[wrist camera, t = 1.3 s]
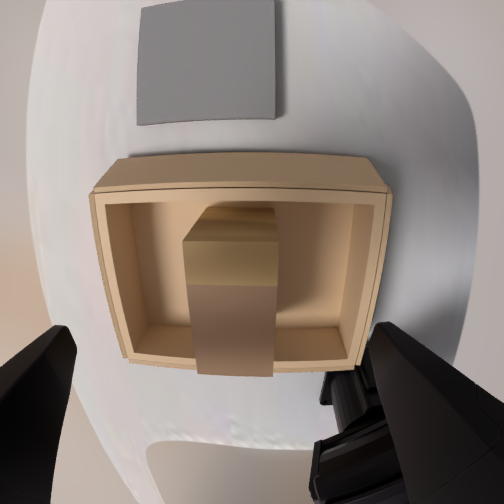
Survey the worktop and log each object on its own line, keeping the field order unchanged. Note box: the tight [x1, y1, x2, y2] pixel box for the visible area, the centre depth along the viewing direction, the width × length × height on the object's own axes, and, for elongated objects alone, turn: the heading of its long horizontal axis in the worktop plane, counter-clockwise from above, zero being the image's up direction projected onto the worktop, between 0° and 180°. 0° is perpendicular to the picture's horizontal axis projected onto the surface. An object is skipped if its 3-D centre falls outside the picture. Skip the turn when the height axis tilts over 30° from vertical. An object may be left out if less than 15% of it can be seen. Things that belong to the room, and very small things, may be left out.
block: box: [182, 207, 279, 377], centre depth 16 cm, size 8×4×6 cm, turn 0°
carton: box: [89, 152, 393, 373], centre depth 18 cm, size 14×18×4 cm
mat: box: [137, 0, 275, 126], centre depth 15 cm, size 8×8×1 cm
